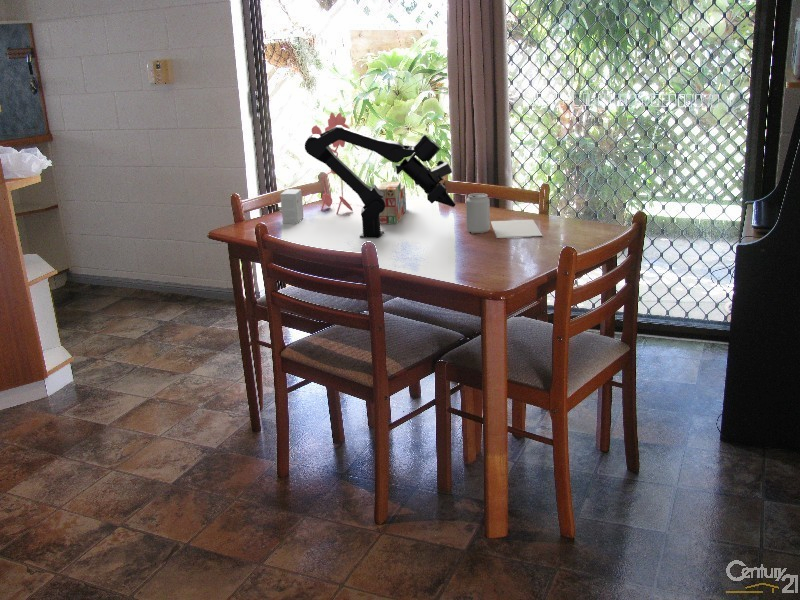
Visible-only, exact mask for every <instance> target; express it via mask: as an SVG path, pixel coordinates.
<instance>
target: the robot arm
mask: <svg viewBox="0 0 800 600" xmlns="http://www.w3.org/2000/svg"><path fill="white" fill-rule="evenodd" d="M338 140H342V141H345V143H348V144H351V145H352V144H353V145H354V146H356V147H360V148H363V149H366V150H369V151H372V152H375V153H377V154H378V155H380V156H381V157H383V158H384V159H386V160H388V161H390V162H392V163H393V164H394V163H396V164H395V169H396V175H399V174H400V173H401V172H403V173H405V174H406V175H407V176H408V177H409V178H410V179H411V180H412V181H414V184H415V185H416V186H419V187H420V188H421V189H422V190H423V191H424V193H425V194H426V196H427V197H426V198H427V199H426V200H427V201H429V203H431V204H433V203H434V202H437V203H440V204H443V205H446V206H449V207H452V208H454V207H455V206H456V203H455V201H454V200H453V198H452V197H451V196H450V194H449V193H448V191H447V186H446V182H443V181H444V177H445V176H447V175H450V174H452V173H453V171H452V168H451V166H450V164H449V162H448V161H443V160H442V159H440V160H438V161H437V162H436V166H434V167H433V168H430V167H428V166H425V165H424V164H423V163H426V162H428V163H430V161H431V160H432V159H433V158H434V157H435V156H436V155H437V154H438V152H440V150H441V147H440V146H439V145H438V144H437V143H436V142H435V141H434V140H433V139H431V138H430V137H429V136H428V135H426V134H423V135H421V138H420V139H419V140H418V142H417V143H415V145H406V144H403V143H402V142H400V141H397V140H390V139H380V138H376V137H373V136H370V135H367V134H364V133H362V132H358V131H356V130H353V129H351V128H350V129H347V128H345V127H343V126H341V125H338V126H336V127H335V128H333V129H331V130H328V131H326V132H325V131H324V132H322V134H320V135H318V134H311V135H310V136H309V137H307V139H306V141H305V143H304V150H305V152H306V153H307V154H308V155H309V156H311V157H312V158H314V159H316V160H317V161H319V162H321V163H323V164H325V165H326V166H327V167H328V168H329V169H330V171H331V170H332V171H334V172H335V173H336V174H335V175H337V177H339V178H340V180H341V179H342V182H344V183H345V184H346V185H347V186H348V187H350V189H352V191H353V192H354V193H356V194H357V196H358V197H359V199H360V200H361V202H362V204H363V207H361V211H360V216H361V221H362V223H361V224H362V233H361V234H360V235H359V238H366V239H367V238H370V239H379V238H380V237H381V236H383V234H385V231H381V224H380V216H379V214H380V213H381V212H383V210H384V209H385V197H384V195H383V192H382V191H380V190H379V189H378V188H379V187H378V186H376V184H373V185H372V187H371V186H370V185H368V184H366V183H365V182H364V181H363V180H362V179H361V178H360V177H359V176H358V175H357V174H356V173H354V171H353V170H352V169H350V168H349V166H348V165H346V164H345V163H344V162H343V160H341V159H340V158H339V157H337V156H336V155H337V154H336V153H334V152H333V151H332V150H331V149H332V147H330V146H331V145H333V143H334V142H336V141H338ZM400 162H401V163H400ZM397 163H398V164H397ZM441 181H442V182H443V183H442V182H441Z"/></svg>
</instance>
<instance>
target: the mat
mask: <svg viewBox="0 0 800 600" xmlns="http://www.w3.org/2000/svg"><path fill="white" fill-rule="evenodd" d="M490 226H491V227H492V229H493V232H494V234H495V237H496V239H497V238H507V239H515V238H514V237H530V236H542V237H543V233H541V230H540V229H539V226H538V225H537V224H536V222H535V221H534V219H518V220H517V219H516V220H515V219H514V220H512V219H511V220H490Z"/></svg>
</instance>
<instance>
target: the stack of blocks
mask: <svg viewBox="0 0 800 600" xmlns="http://www.w3.org/2000/svg"><path fill="white" fill-rule="evenodd" d="M377 188H378V189H379V190H380V191H382V192H383V195H384V197H385V209H384V210H383V212H381V213H380V214H379V216H380V225H397V224H398V223H399V221H400V220H401V218H402V217H403V215H404V214H405V212H406V211H407V203H406V202H407V198H406V196H407V194H406V185H405V184H401V181H383V182H382V184H381V185H380V186H379V187H377Z"/></svg>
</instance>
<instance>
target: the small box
mask: <svg viewBox="0 0 800 600" xmlns="http://www.w3.org/2000/svg"><path fill="white" fill-rule="evenodd" d="M302 193H303V192H302V189H301V188H299V189H297V188H293V189H291V188H290V189H289V188H287V189H285V190H284V191H283V192H281V193H280V197H279V198H280V206H281V217H282V224H283V223H287V224H292V223H296V224H299V223H300V222H301V221H302V220H303V219H304V218H303V217H304V206H303V194H302ZM302 218H303V219H302ZM301 219H302V220H301ZM300 220H301V221H300ZM299 221H300V222H299ZM298 222H299V223H298Z"/></svg>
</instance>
